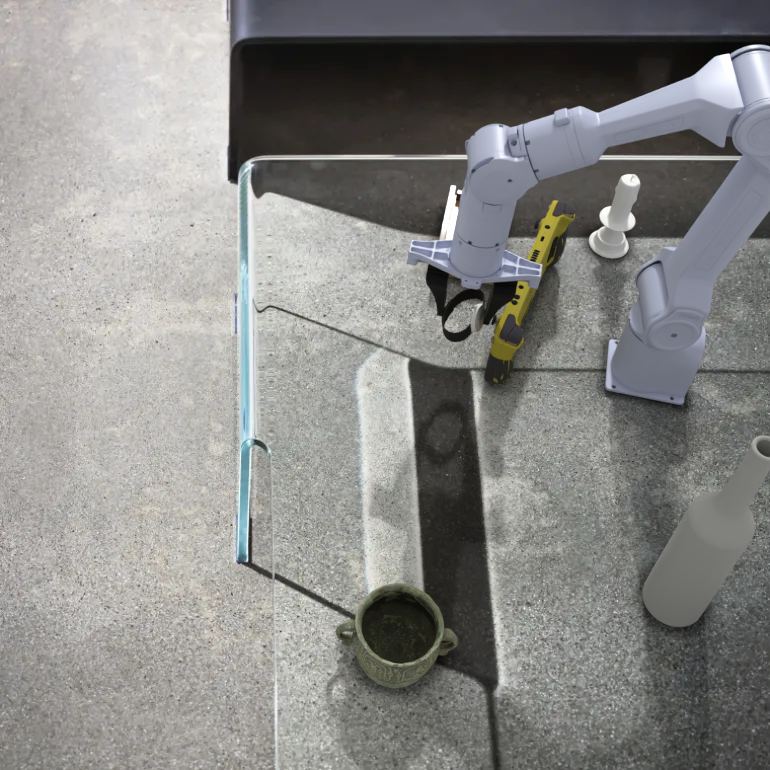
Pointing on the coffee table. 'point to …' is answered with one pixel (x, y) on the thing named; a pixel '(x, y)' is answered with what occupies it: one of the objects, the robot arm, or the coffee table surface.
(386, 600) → the vessel
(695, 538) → the bottle
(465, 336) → the watch
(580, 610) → the coffee table surface
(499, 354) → the yellow power tool
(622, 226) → the candle
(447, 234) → the shelf
